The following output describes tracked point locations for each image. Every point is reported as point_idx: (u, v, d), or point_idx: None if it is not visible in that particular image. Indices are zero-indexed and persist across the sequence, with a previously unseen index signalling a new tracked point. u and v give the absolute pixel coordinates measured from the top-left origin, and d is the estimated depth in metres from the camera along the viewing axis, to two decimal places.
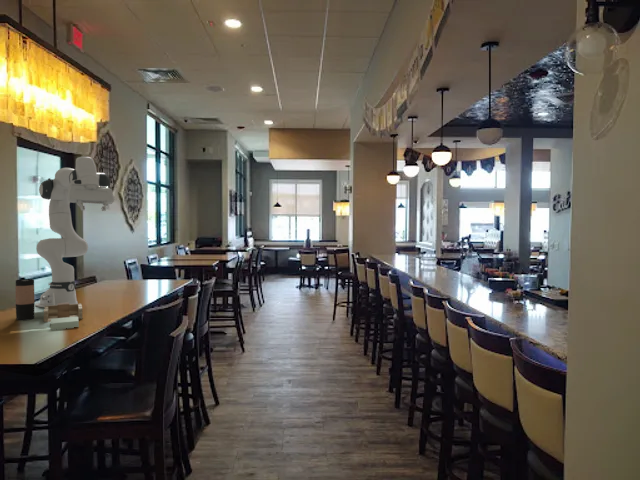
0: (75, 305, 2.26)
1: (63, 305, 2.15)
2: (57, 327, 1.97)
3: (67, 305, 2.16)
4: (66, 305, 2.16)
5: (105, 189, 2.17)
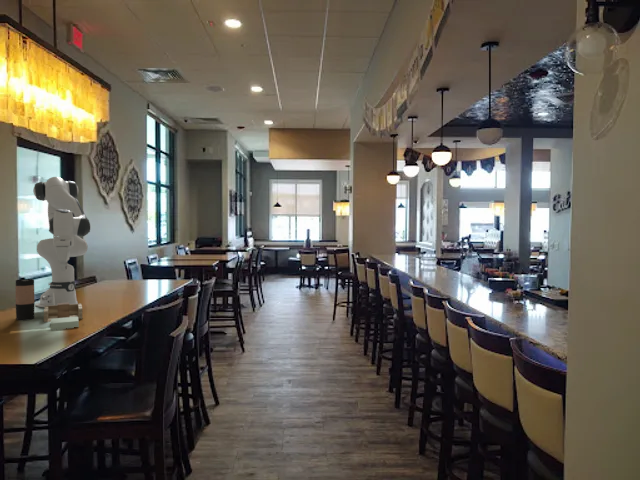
0: (75, 305, 2.26)
1: (63, 305, 2.15)
2: (57, 327, 1.97)
3: (67, 305, 2.16)
4: (66, 305, 2.16)
5: None
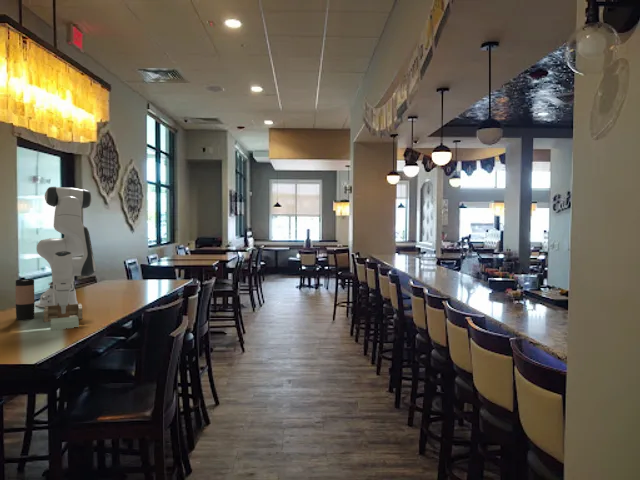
0: (75, 305, 2.26)
1: None
2: (57, 327, 1.97)
3: (67, 305, 2.16)
4: None
5: None
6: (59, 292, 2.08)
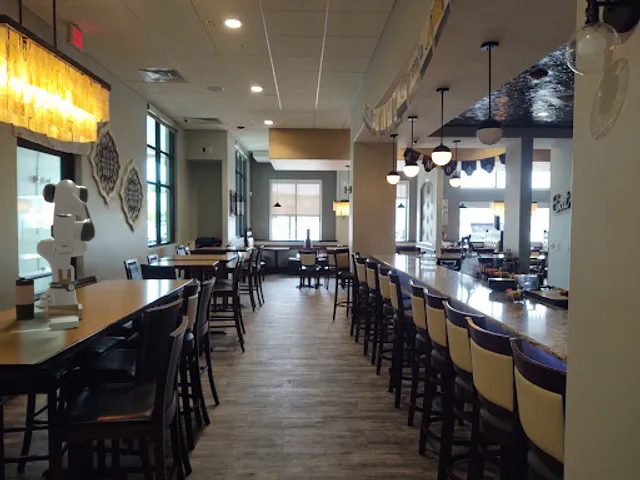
0: (75, 305, 2.26)
1: None
2: (57, 327, 1.97)
3: (69, 270, 2.02)
4: (67, 270, 2.02)
5: None
6: (60, 254, 1.95)
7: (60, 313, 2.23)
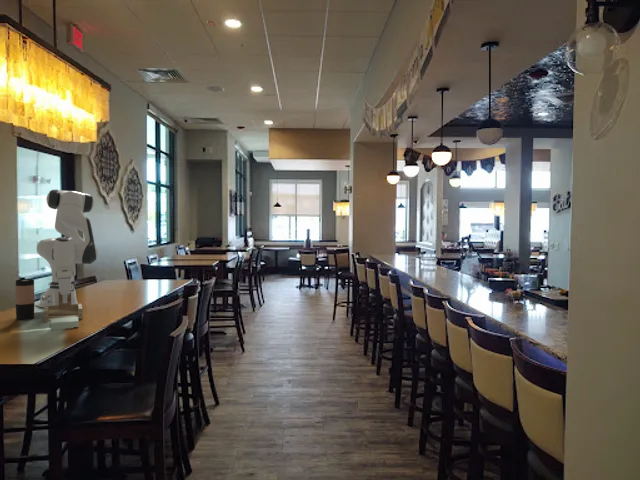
0: (75, 305, 2.26)
1: None
2: (57, 327, 1.97)
3: (69, 294, 2.02)
4: (68, 294, 2.01)
5: None
6: (60, 280, 1.94)
7: (60, 313, 2.23)
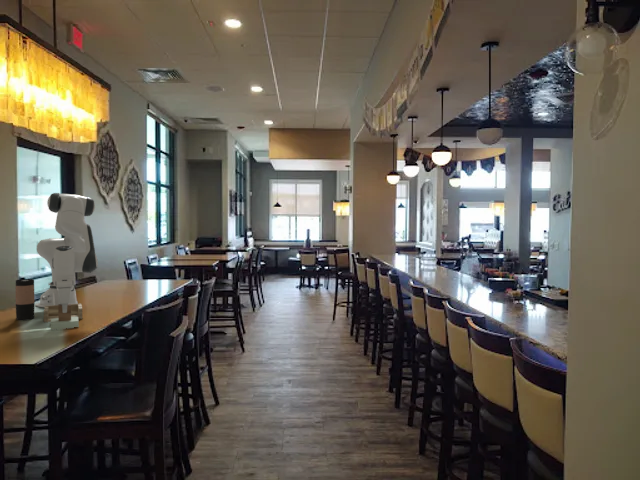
0: (75, 305, 2.26)
1: None
2: (57, 327, 1.97)
3: (69, 306, 2.02)
4: (67, 306, 2.02)
5: None
6: (60, 289, 1.94)
7: None
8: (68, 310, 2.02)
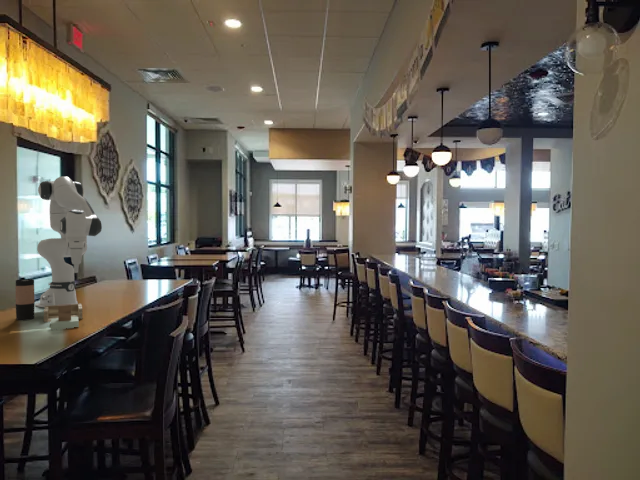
0: (75, 305, 2.26)
1: (64, 306, 2.01)
2: (57, 327, 1.97)
3: (69, 306, 2.02)
4: (67, 306, 2.02)
5: None
6: (72, 250, 2.05)
7: None
8: (68, 310, 2.02)
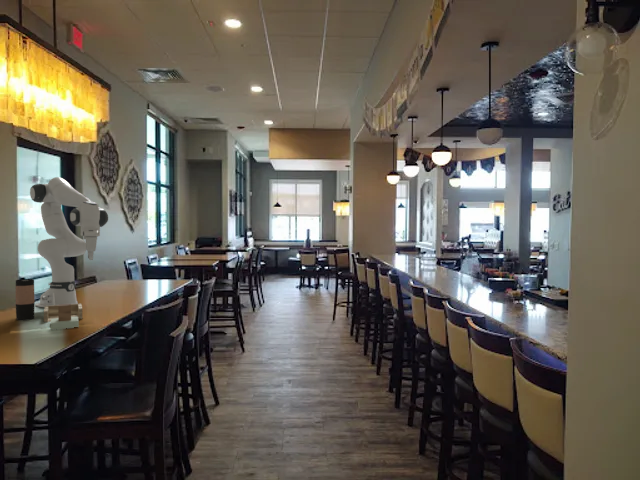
0: (75, 305, 2.26)
1: (64, 306, 2.01)
2: (57, 327, 1.97)
3: (69, 306, 2.02)
4: (67, 306, 2.02)
5: None
6: (87, 238, 2.19)
7: None
8: (68, 310, 2.02)
